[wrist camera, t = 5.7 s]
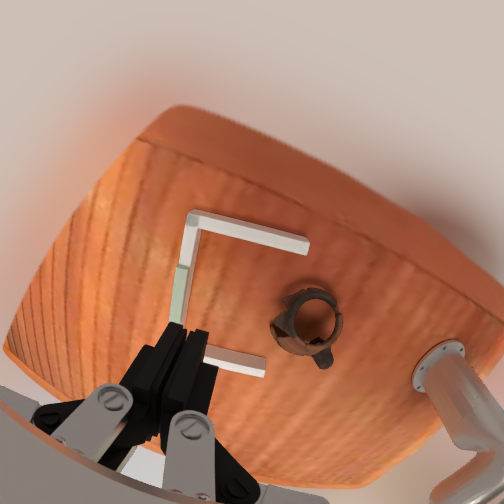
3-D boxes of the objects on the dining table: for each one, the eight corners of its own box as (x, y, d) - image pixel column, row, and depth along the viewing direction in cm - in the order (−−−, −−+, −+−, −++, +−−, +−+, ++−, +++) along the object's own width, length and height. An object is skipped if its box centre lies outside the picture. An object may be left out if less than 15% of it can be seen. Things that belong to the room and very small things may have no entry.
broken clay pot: (252, 313, 38) (265, 316, 30) (303, 276, 40) (327, 269, 32) (297, 376, 37) (319, 391, 29) (343, 338, 40) (372, 343, 32)
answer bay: (306, 237, 34) (311, 246, 30) (263, 364, 40) (262, 381, 36) (194, 208, 33) (185, 213, 30) (173, 341, 40) (165, 357, 36)
